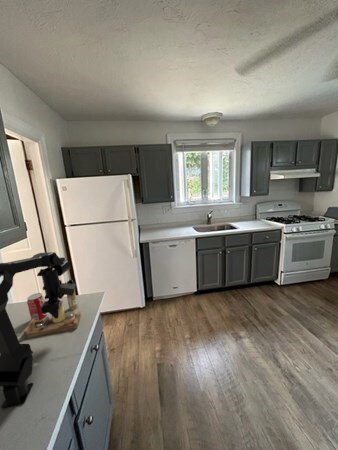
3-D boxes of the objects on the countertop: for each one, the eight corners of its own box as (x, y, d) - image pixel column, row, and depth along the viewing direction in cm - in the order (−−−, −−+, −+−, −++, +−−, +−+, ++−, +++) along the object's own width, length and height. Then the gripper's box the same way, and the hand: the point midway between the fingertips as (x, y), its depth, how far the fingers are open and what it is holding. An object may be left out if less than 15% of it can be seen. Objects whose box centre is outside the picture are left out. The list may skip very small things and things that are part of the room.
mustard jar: (51, 324, 83) (47, 307, 81) (53, 316, 87) (50, 300, 86) (64, 320, 84) (61, 303, 83) (66, 313, 89) (63, 297, 87)
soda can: (46, 320, 101) (41, 297, 99) (29, 324, 99) (24, 301, 96) (48, 312, 108) (44, 291, 105) (33, 316, 105) (28, 294, 103)
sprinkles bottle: (78, 309, 109) (75, 287, 106) (69, 313, 106) (65, 290, 104) (77, 306, 113) (73, 284, 110) (68, 309, 110) (64, 287, 108)
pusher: (44, 332, 91) (43, 325, 90) (33, 334, 90) (32, 327, 89) (49, 323, 97) (48, 316, 96) (39, 325, 96) (38, 318, 96)
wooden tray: (77, 330, 93) (76, 321, 92) (25, 340, 88) (23, 331, 88) (81, 318, 101) (80, 310, 101) (34, 326, 97) (32, 318, 96)
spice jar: (74, 326, 94) (73, 317, 93) (62, 328, 93) (60, 319, 92) (77, 319, 99) (75, 310, 98) (65, 321, 98) (64, 312, 97)
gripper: (69, 287, 76) (76, 322, 79) (74, 269, 93) (80, 298, 97) (36, 294, 73) (44, 331, 76) (48, 274, 90) (54, 304, 93)
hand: (58, 314), depth 85 cm, fingers closed on mustard jar, 5 cm apart
